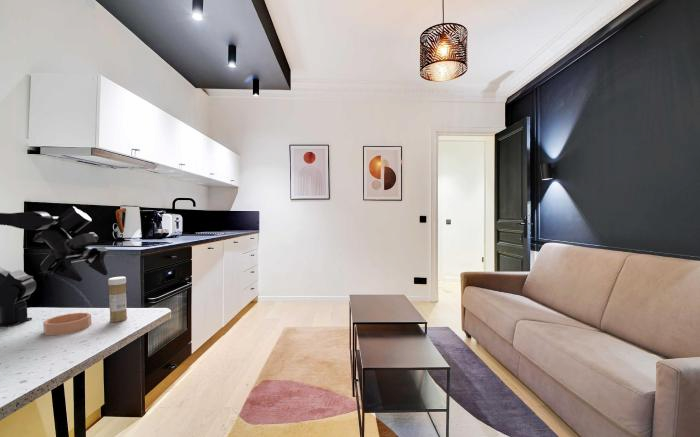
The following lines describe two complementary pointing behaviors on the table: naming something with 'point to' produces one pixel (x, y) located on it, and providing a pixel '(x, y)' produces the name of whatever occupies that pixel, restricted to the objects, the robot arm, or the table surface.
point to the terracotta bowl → (67, 323)
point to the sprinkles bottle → (117, 299)
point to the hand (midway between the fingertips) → (94, 277)
